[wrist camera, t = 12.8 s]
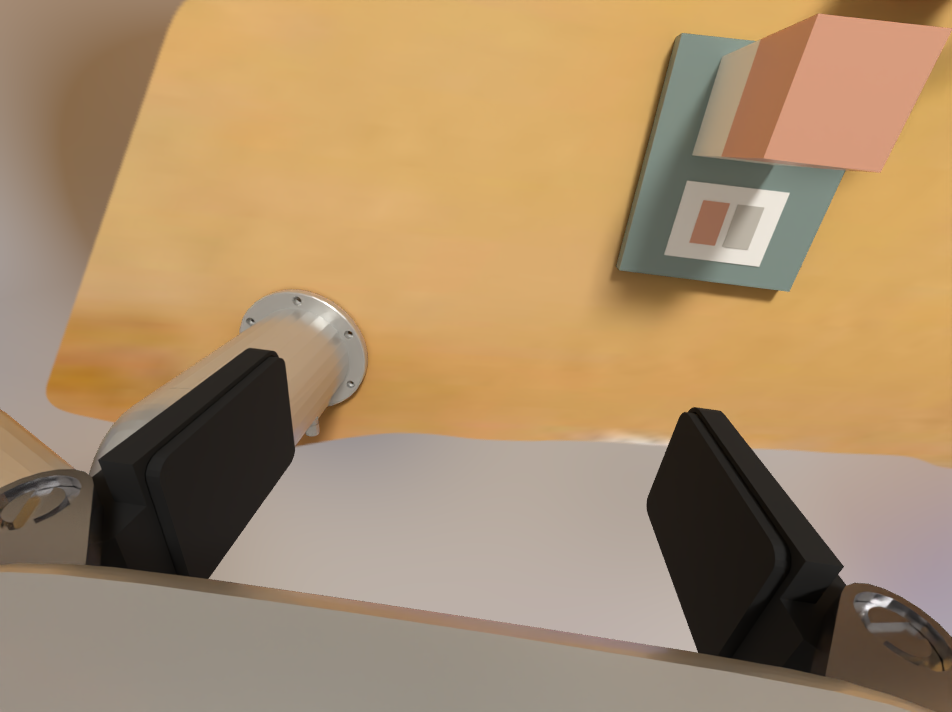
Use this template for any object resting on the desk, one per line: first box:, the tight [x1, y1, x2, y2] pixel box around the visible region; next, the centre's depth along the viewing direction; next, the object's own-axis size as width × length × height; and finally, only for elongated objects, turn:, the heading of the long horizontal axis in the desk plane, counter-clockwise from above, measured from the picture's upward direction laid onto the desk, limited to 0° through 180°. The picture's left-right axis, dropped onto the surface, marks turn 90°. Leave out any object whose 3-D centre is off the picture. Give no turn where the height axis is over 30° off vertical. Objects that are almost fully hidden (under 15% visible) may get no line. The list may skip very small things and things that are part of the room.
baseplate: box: [616, 33, 845, 292], centre depth 29 cm, size 16×14×7 cm
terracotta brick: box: [721, 14, 952, 172], centre depth 23 cm, size 6×6×5 cm
